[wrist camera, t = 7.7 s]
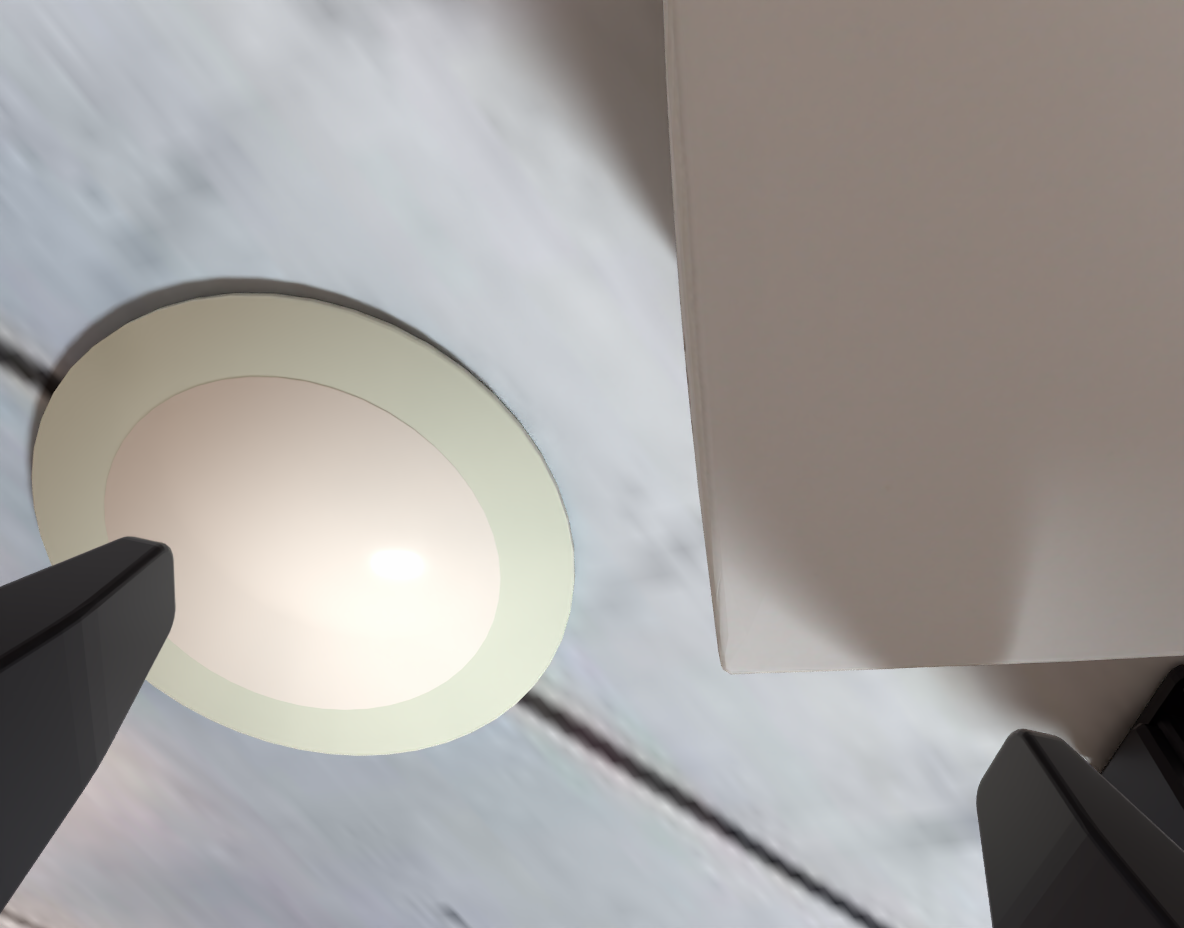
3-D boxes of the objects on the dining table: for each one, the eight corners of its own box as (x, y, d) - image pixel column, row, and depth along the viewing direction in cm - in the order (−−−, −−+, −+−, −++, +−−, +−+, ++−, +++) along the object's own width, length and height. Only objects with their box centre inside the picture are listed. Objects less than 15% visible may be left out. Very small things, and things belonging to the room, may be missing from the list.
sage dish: (623, 361, 21) (622, 368, 21) (532, 784, 29) (530, 796, 28) (2, 236, 21) (-11, 241, 21) (72, 694, 28) (64, 705, 28)
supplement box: (666, -69, 17) (642, -136, 6) (1079, -127, 16) (1964, -336, 5) (691, 303, 20) (704, 692, 9) (1031, 274, 19) (1485, 671, 8)
